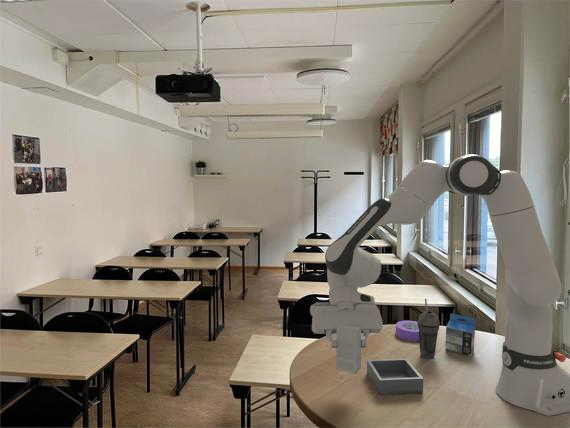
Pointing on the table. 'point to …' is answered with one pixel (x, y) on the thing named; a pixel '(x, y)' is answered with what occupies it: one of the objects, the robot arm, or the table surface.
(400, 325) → the masking tape
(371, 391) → the table surface
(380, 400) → the table surface
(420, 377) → the box
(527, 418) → the table surface
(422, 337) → the beverage cup
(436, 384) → the table surface
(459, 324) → the label tape cartridge
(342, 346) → the skincare box
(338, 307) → the robot arm
